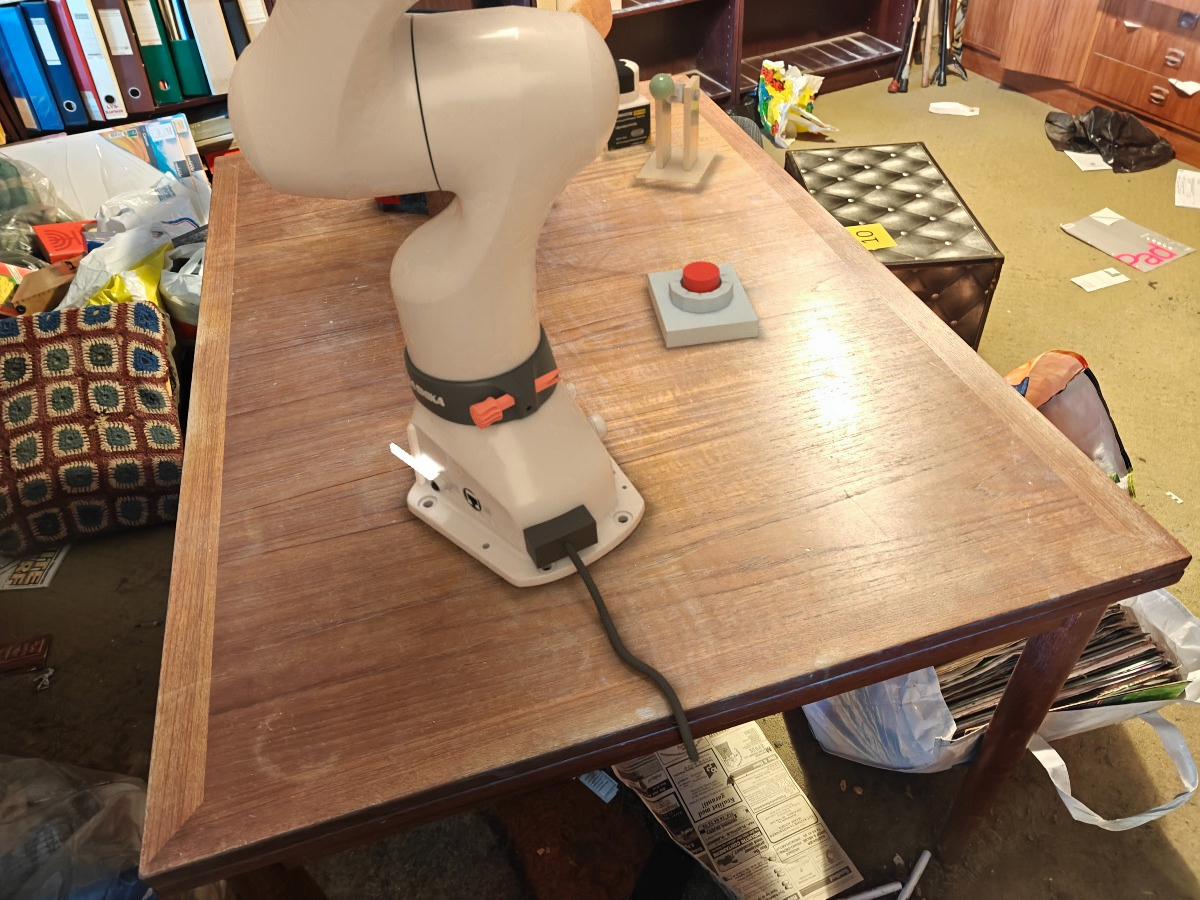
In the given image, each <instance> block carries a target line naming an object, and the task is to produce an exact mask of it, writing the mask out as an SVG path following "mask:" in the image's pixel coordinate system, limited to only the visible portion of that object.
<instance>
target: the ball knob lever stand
mask: <svg viewBox="0 0 1200 900" xmlns="http://www.w3.org/2000/svg"><path fill="white" fill-rule="evenodd" d="M666 74H667V75H669V76H670V77H671V78H672V73H666ZM700 77H701V76H700V75H692V76H691V77H690V78H689V80H687V82H686V84H685V86H684V105H683V138H682V139H683V144H682V145H683V146H675V145H674V146H673V145H672V104H671V103H668V102H666V100H662V101H660V100H657V99H655V98H654V110H655V111H654V113H655V114H654V115H655V116H654V117H655V149H654V151H652V154H651V155H650V156H649V157H648V159H647V161H646V162H645V163H644V165H643V166H642V167H641V169H640V170H639V172H638V173H637V175H636V176H635V179H644V180H655V181H664V182H673V183H681V184H693V185H698V184H699V183H700V181H701V179H702V178H703V176H704V174H705V172H706V171H707V169H708V168H709V166H710V164H711V163H712V161H713V159H714V158H715V156H716V154H717V152H718V150H717V149H708V148H699V127H700V124H699V123H700V97H701V91H700V79H701V78H700Z"/></svg>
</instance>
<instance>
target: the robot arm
mask: <svg viewBox="0 0 1200 900" xmlns="http://www.w3.org/2000/svg"><path fill="white" fill-rule="evenodd" d="M419 1H420V0H275V3H274V6H273V7H272V10H271V13H270V15H269V17H268V19H267V21H266V23H265V24H264V26H263V27H262V29H260V32H259V33H258V34H257V35H256V36H255V38H253V39H252V41H251V42H250V43H249V44H248V45H247V46H245V48H244V49H243V50H242V52H241V54H240V55H239V57H238V58H237V61H236V62H235V65H234V66H233V70H232V73H231V76H230V79H229V83H228V84H229V85H228V90H227V114H228V120H229V125H230V129H231V133H232V135H233V138H234V141H235V143H236V145H237V147H238V149H239V151H240V154H241V155H242V157H243V159H244V161H246V163H247V164H248V165H249V167H250V169H252V171H253V172H254V173H255V174H256V175H257V176H258V177H259V179H261V180H262V181H263V182H264V183H265V184H266V185H267V186H269V187H270V188H271V189H272V190H274V191H275V192H276V193H279V194H280V195H286V196H293V197H294V196H295V197H303V198H313V199H324V200H339V201H355V200H363V199H375V198H374V197H383V196H392V195H401V194H410V193H419V192H428V191H437V190H442V191H451V192H454V193H455V194H456V197H455V198H454V200H453V201H452V202H451V203H450V204H449V205H448V206H447V208H445V209H444V210H443V211H442V212H440V213H439V214H438V215H436V216H435V217H433V218H431V219H430V218H429V219H428V220H426V221H425V222H423V223H422V224H421V225H419V226H418V227H417V228H415V229H414V230H413V231H412V232H411V233H410V234H409V235H408V236H407V237H406V238H405V240H404V241H402V243H401V244H400V245H399V247H398V249H397V250H396V252H395V254H394V256H393V259H392V261H391V265H390V270H389V285H390V289H391V293H392V297H393V301H394V305H395V308H396V312H397V317H398V320H399V323H400V327H401V332H402V335H403V339H404V342H405V344H404V348H403V358H404V368H405V374H406V377H407V380H408V382H409V384H410V388H411V391H412V393H413V396H414V397H415V399H414V404H413V408H412V411H411V415H410V417H409V420H408V423H407V427H406V436H407V440H408V445H409V450H410V454H409V453H407V452H406V451H404V450H403V449H401V448H400V447H399V446H398V445H396V444H394V443H393V442H392V443H391V444H389V446H390V450H391V453H393V454H394V455H395V456H397V457H398V458H399V459H400V460H401V461H402V460H403V461H404V462H405V463H406V464H407V465H409V466H411V468H413V471H414V476H415V482H414V483H413V485H412V486H411V488H410V489H409V491H408V493H407V496H406V504H407V509H408V511H409V512H410V513H411V514H413V515H414V516H416V517H417V518H418V519H419V520H421V521H423V522H424V523H425V524H426V525H428V526H429V527H431V528H432V529H434V530H435V531H436V532H437V533H439V534H440V535H442V536H443V537H445V538H446V539H448V540H449V541H450V542H452V543H453V544H455V545H456V546H457V547H459V548H460V549H461V550H463V551H465V552H466V553H467V554H468V555H470V556H471V557H473V558H474V559H475V560H477V561H478V562H479V563H481V564H483V565H484V566H486V567H487V568H488V569H489V570H491V571H492V572H494V573H495V574H497V575H498V576H500V577H501V578H502V579H504V580H505V581H506V582H508V583H509V584H511V585H513V586H515V587H518V588H526V587H527V588H528V587H536V586H541V585H545V584H549V583H551V582H555V581H558V580H561V579H563V578H565V577H567V576H571V575H572V574H574V573H576V572H578V574H579V575H580V579H582V582H583V583H584V585H585V587H586V589H587V591H588V593H589V595H590V596H591V599H592V602H593V603H594V606H595V608H596V611H597V612H598V613H597V614H598V615H599V617H600V620H601V622H602V624H603V626H604V628H605V630H606V633H607V635H608V637H609V639H610V642H611V644H612V645H613V648H614V649H615V651H616V653H617V654H618V656H619V657H620V658H621V659H622V660H623V661H624V662H625V664H627V665H629V667H632V668H633V669H634V670H635V671H638V672H640V673H642V674H644V675H645V676H647V677H648V678H650V679H651V680H652V681H653V682H655V684H656V685H657V686H658V688H659V689H660V690H661V692H662V693H663V695H664V696H665V698H666V699H667V701H668V703H669V705H670V708H671V710H672V713H673V715H674V718H675V722H676V724H677V727H678V730H679V734H680V737H681V740H682V743H683V745H684V748H685V751H686V754H687V756H688V759H689V761H691V762H692V763H698V762H699V761H700V755H699V752H698V748H697V746H696V743H695V740H694V737H693V735H692V731H691V728H690V726H689V722H688V720H687V717H686V714H685V711H684V708H683V705H682V703H681V701H680V698H679V697H678V695H677V694H676V692H675V690H674V689H673V687H672V685H671V684H670V683H669V681H668V680H667V679H666V677H664V675H663V674H662V673H661V672H659V671H658V670H657V669H655V668H654V667H653V666H651V665H649V664H647V663H645V662H644V661H642V660H640V659H639V658H637V657H635V656H634V655H633V654H632V653H631V652H630V651H629V650H628V648H627V647H626V646H625V645H624V643H623V641H622V638H621V636H620V634H619V632H618V630H617V627H616V625H615V623H614V621H613V619H612V617H611V615H610V613H609V611H608V607H607V606H606V603H605V601H604V599H603V597H602V595H601V593H600V590H599V589H598V588H599V587H598V586H597V585H596V583H595V580H594V579H593V577H592V575H591V574H590V571H589V570H588V568H587V567H588V566H589V565H591V564H592V563H594V562H596V561H597V560H599V559H601V558H602V557H603V556H605V555H606V554H608V553H610V552H611V551H613V549H615V548H617V546H619V545H620V544H621V543H623V542H624V541H625V540H626V539H627V538H628V537H629V536H630V535H631V534H632V533H633V531H634V530H635V529H636V528H637V527H638V525H639V523H640V522H641V521H642V518H643V516H644V514H645V512H646V505H645V500H644V498H643V496H642V495H641V494H640V492H639V491H638V490H637V488H636V487H635V486H634V484H633V483H632V482H631V481H630V479H629V478H628V477H627V475H626V474H625V472H624V471H623V470H622V468H621V467H620V466H619V465H618V463H617V462H616V460H614V458H613V457H612V455H611V454H610V453H609V452H608V450H607V448H606V446H605V444H604V443H603V441H602V439H603V438H605V437H607V436H608V434H609V430H608V429H609V428H608V424H607V422H606V421H605V418H604V416H603V415H602V414H601V413H600V412H594V413H591V414H589V415H586V414H585V413H584V411H583V409H582V408H581V406H580V404H579V403H578V401H577V400H576V398H575V397H577V396H578V391H577V388H576V386H575V384H574V383H573V382H568V383H566V382H565V381H564V380H563V378H562V377H561V375H560V373H561V372H562V370H561V368H559V367H558V365H557V362H556V359H555V356H554V350H553V347H552V344H551V341H550V340H549V338H548V336H547V333H546V330H545V328H544V326H543V324H542V322H541V321H540V316H539V307H538V297H537V296H538V295H537V273H536V272H537V271H536V266H537V265H536V263H537V262H536V261H537V260H536V259H537V249H538V244H539V240H540V236H541V233H542V230H543V228H544V225H545V223H546V220H547V218H548V216H549V214H550V212H551V211H552V208H553V207H554V205H555V204H556V202H557V200H558V199H559V197H560V196H561V195H562V193H563V192H564V191H565V189H566V188H567V187H568V186H569V185H570V184H571V182H573V181H574V179H575V178H577V176H578V175H580V174H581V173H582V172H583V171H584V170H585V169H586V168H587V167H589V166H590V165H591V164H592V163H594V162H595V161H596V160H597V158H598V157H599V156H600V155H601V154H602V153H603V151H604V150H605V146H606V144H607V143H608V141H609V139H610V137H611V134H612V132H613V129H614V127H615V123H616V119H617V115H618V109H619V95H620V91H619V80H618V75H617V70H616V66H615V63H614V60H615V59H614V58H613V55H612V52H611V50H610V48H609V46H608V44H607V43H606V41H605V39H604V38H603V36H602V34H601V33H600V32H599V31H598V29H597V28H596V27H595V26H594V25H593V24H592V23H591V22H590V21H589V19H587V18H586V17H585V16H584V15H583V14H581V13H580V12H573V11H564V10H558V9H551V8H543V7H532V6H524V5H523V6H522V5H504V6H495V7H494V6H493V7H484V8H473V9H462V10H463V11H453V12H443V13H433V14H423V15H413V14H404V13H405V12H406V11H407V10H408V9H411V8H412V7H413V6H414V5H415V4H416V3H418V2H419ZM545 569H547V570H545Z"/></svg>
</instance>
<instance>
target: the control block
mask: <svg viewBox="0 0 1200 900" xmlns="http://www.w3.org/2000/svg"><path fill="white" fill-rule="evenodd" d="M715 265H716V266H717V267H718V268H719V270H720V277H719V287H718V288H717V289H716V290H714V291H712V292H707V293H694V292H689V291H688V290H686V289H684V287H683V269H684V267H683V268H679V269H672V270H665V271H655V272H648V273H647V275H646V276H647V291H648V294H649V298H650V300H651V304H652V306H653V307H652V308H653V310H654V313H655V315H656V318H657V322H658V325H659V328H660V332H661V335H662V337H663V340H664V341H663V342H664V344H665V347H666V348H668V349H669V348H678V347H684V346H685V347H686V346H693V345H700V344H709V343H717V342H724V341H732V340H739V339H748V338H754V337H756V338H757V337H758V332H759V320H760V319H759V317H758V316H757V313H756V312H755V309H754V307H753V305H752V303H751V301H750V299H749V297H748V294H747V293H746V290H745V288H744V285H743V284H742V282H741V280H740V278H739V276H738V274H737V272H736V269H735V268H734V265H733V263H732V262H730V263H728V262H727V263H721V264H715Z"/></svg>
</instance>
